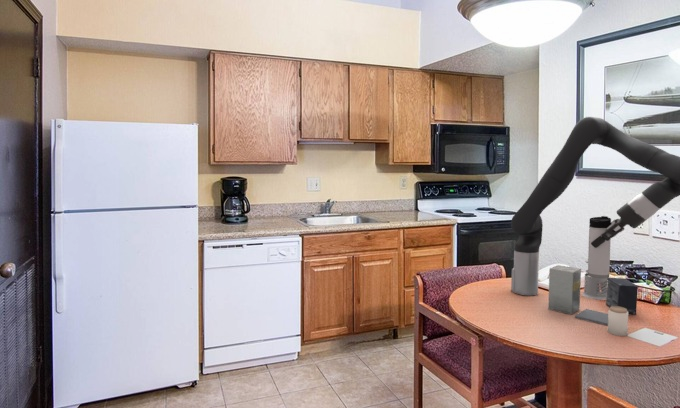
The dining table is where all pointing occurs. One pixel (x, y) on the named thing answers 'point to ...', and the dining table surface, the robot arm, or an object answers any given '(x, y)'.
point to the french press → (594, 287)
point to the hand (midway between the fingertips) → (593, 243)
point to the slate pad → (593, 316)
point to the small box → (622, 294)
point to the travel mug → (599, 249)
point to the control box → (564, 289)
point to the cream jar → (618, 321)
